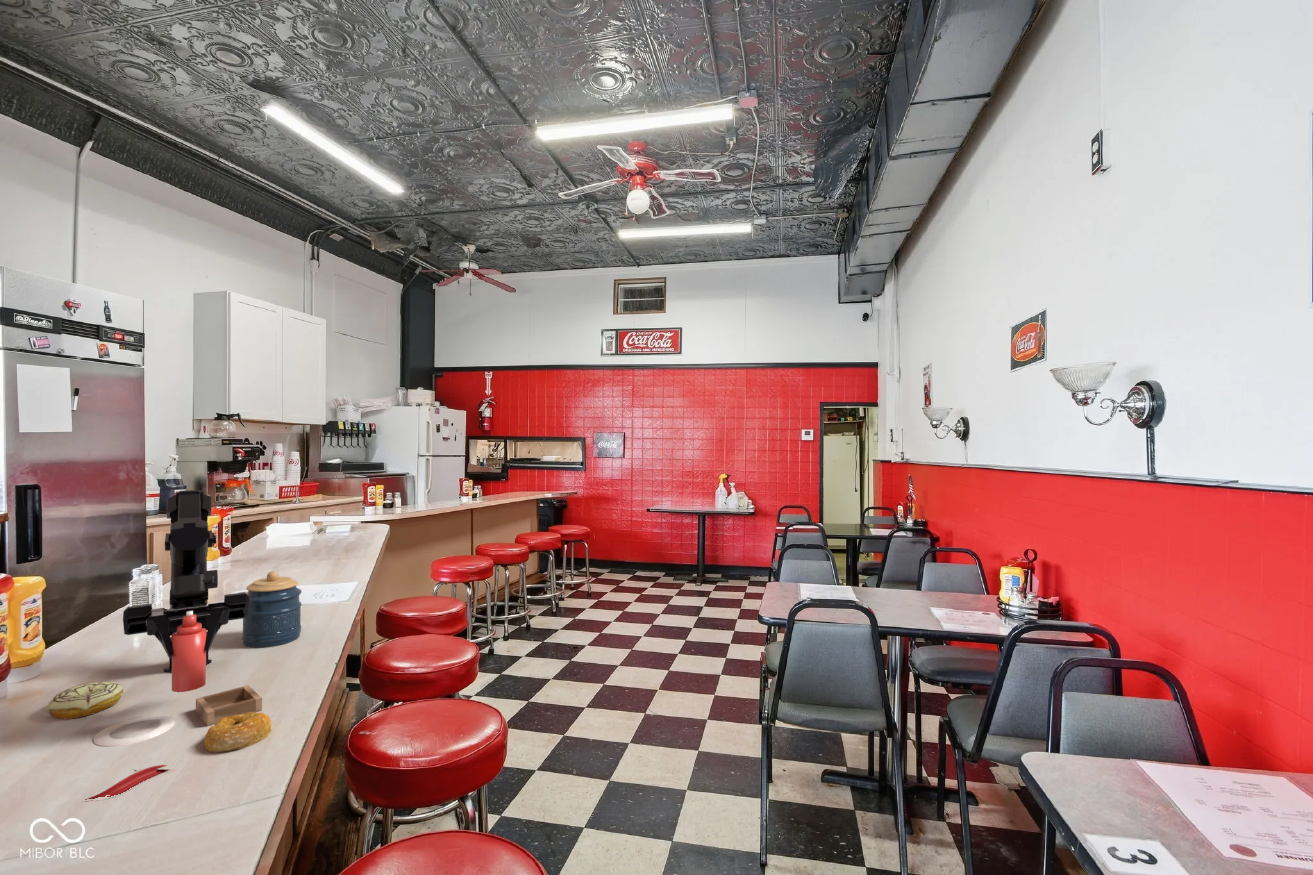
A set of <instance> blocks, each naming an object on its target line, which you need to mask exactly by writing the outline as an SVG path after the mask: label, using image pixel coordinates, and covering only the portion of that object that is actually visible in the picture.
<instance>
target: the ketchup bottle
mask: <svg viewBox="0 0 1313 875" xmlns="http://www.w3.org/2000/svg"><path fill="white" fill-rule="evenodd" d="M206 632H207V630H206V629H205V628H202V624H201V623H196V615H195V614H193V611H187V612H186V615H185V616H183V625H180V626H178V627H177V632H175V633H173V634H172V636H171V637H172V672H171V691H172V692H175V693H184V692H191V691H194V690H198V689H201V688H202V687H204V686H205V685H206V684H207V665H206Z"/></svg>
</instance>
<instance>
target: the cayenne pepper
mask: <svg viewBox="0 0 1313 875" xmlns="http://www.w3.org/2000/svg"><path fill="white" fill-rule="evenodd" d="M167 766H168V765H167V764H160V765H154V766H150V767H147V768H144V769H141V770H139V771H136V772H133V773H132V774H130V775H128V776H127V777H125V778H123V779H121V780H120V781H118V782H117V783H115V784H113V785H112V786H110V787H109V788H106V789H105V790H104V791H102V792H100V793H98V794H96V795H93V796H91V797H88V798H86V799H84V800H87V799H95V798H98V797H105V796H106V795H110V796H107V797H111V796H114V795H118V794H120V795H122V794H121V793H123V792H125V793H126V791H127V790H128V791H130V790H131V789H130V788H132V787H133V788H134V786H135V787H136V785H137V786H139V785H140V784H141V783H144V782H146V781H147V779H148V780H150V779H152V778H154V777H157V776H158V775H161V774H164V773H166V772H169V771H170V769H165V768H164V767H167ZM163 768H164V769H163ZM143 781H144V782H143ZM139 783H140V784H139ZM133 788H132V789H133ZM129 789H130V790H129ZM128 791H127V792H128ZM123 794H124V793H123ZM118 796H119V795H118Z"/></svg>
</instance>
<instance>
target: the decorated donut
mask: <svg viewBox="0 0 1313 875" xmlns="http://www.w3.org/2000/svg"><path fill="white" fill-rule="evenodd" d="M123 693H124V687H123V685H122V684H121V683H119V682H115V681H97V682H86V683H82V684H78V685H76V686H71V687H69V688H67V689H64V690H63V691H61V692H59V693H57V694H56V695H54V696H53V697H52V699H50V700H49V702H48V703H47V705H46V706H45V711H46V713H47V712H48V713H49V714H50V715H51V716H53V717H54V718H55V719H58V720H66V719H68V720H72V719H77V718H76V717H78V718H83V717H86V716H90V715H94V714H93V713H95V714H97V713H99V712H101V711H105V710H107V709H109V708H110V707H112V706H114V705H117V703H118V702H119V700H120V699H121V698H122V695H123ZM82 716H83V717H82ZM71 718H72V719H71Z"/></svg>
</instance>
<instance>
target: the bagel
mask: <svg viewBox="0 0 1313 875" xmlns="http://www.w3.org/2000/svg"><path fill="white" fill-rule="evenodd" d="M271 732H272V719H271V718H270V715H269V714H266V713H265V712H256V713H255V712H249V713H246V714H241V715H236V716H230V717H225V718H222V719H220V720H219V722H218V723H216V724H215V725H211V726H209V728H208V729H207V731H206V735H205V737H204V740H203V744H204V748H205V749H206V750H207V751H208V752H210V753H211V752H212V753H223V752H230V751H231V752H232V751H235V750H241V749H245V748H249V747H251V746H254V745H255V744H256V745H257V743H260V742H261V741H263V740H265V739H266V738H267V737H268V736H269V735H270V734H271Z"/></svg>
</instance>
